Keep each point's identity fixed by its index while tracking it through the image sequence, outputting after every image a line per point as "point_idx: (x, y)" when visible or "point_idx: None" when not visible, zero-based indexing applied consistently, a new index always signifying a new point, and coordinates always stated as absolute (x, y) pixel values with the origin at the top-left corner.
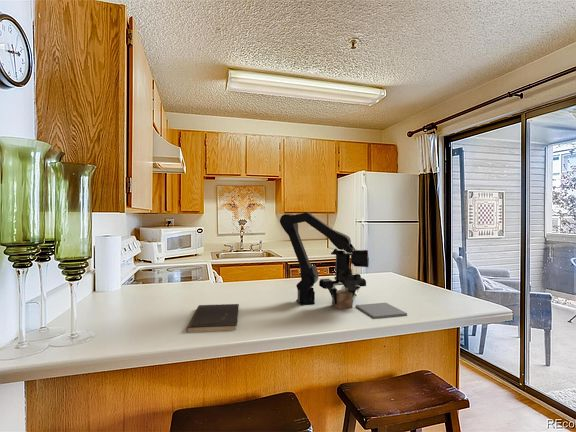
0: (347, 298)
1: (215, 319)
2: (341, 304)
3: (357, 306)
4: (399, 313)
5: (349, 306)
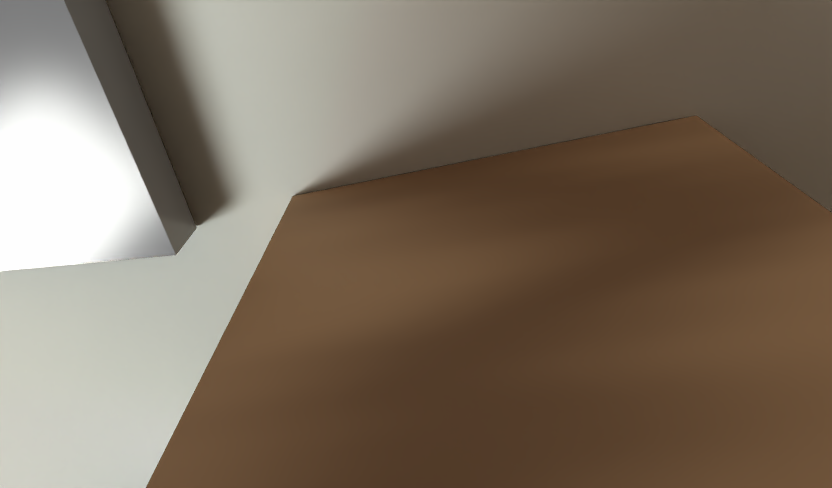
0: (451, 360)
1: None
2: (688, 185)
3: (142, 162)
4: None
5: (377, 195)
